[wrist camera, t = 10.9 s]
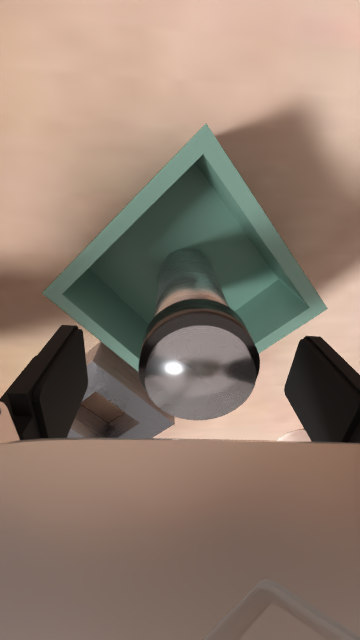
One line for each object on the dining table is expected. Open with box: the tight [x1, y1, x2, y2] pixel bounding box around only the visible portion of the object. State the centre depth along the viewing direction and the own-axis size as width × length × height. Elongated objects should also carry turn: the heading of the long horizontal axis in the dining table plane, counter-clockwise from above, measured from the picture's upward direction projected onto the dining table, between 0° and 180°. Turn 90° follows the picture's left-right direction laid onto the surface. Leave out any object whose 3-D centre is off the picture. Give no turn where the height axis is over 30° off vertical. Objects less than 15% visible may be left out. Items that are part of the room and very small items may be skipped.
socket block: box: [67, 342, 174, 438], centre depth 25 cm, size 10×10×3 cm
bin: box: [42, 124, 327, 372], centre depth 18 cm, size 12×12×6 cm
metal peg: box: [138, 248, 260, 420], centre depth 15 cm, size 5×5×12 cm
